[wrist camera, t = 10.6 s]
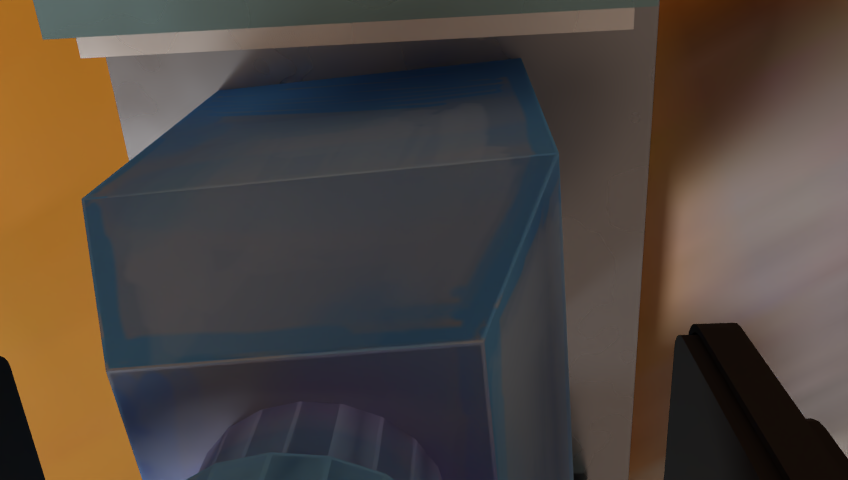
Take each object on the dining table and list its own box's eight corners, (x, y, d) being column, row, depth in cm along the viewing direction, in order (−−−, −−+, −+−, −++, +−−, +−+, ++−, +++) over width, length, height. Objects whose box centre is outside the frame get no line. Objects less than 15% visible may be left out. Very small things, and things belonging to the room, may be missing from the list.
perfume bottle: (276, 348, 18) (-4, 1035, 7) (217, 90, 16) (-349, 541, 5) (537, 327, 18) (669, 1035, 7) (520, 57, 15) (687, 477, 4)
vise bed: (614, 561, 22) (655, 737, 17) (236, 565, 22) (179, 736, 18) (663, -264, 14) (765, -346, 9) (68, -220, 14) (-114, -275, 10)
